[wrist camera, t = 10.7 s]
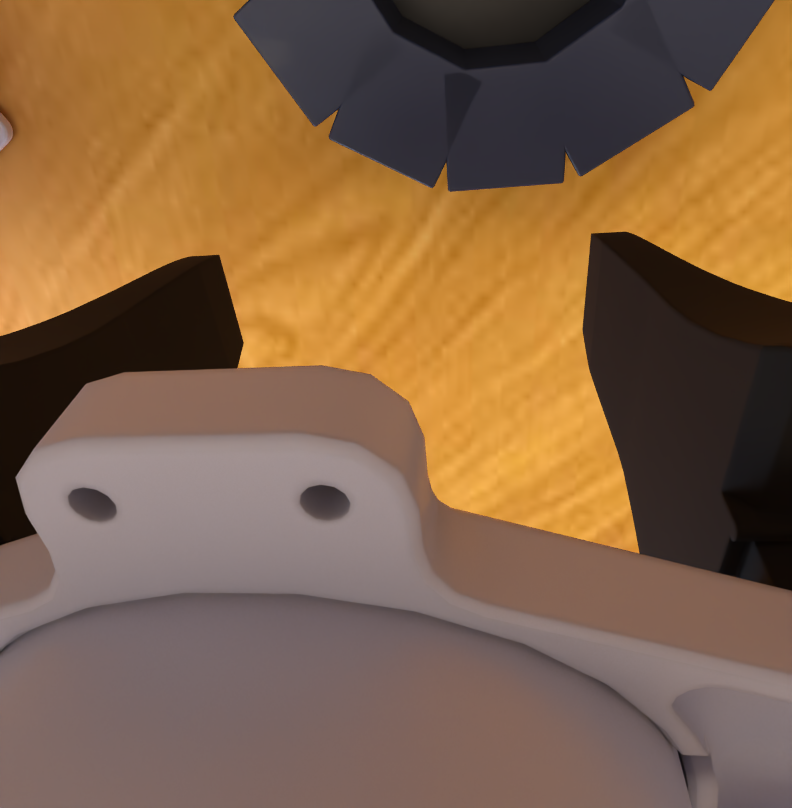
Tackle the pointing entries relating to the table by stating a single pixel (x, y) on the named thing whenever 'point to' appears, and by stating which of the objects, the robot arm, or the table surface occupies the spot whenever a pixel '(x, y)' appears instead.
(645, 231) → the table surface
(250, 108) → the table surface
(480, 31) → the peg stand
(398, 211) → the table surface
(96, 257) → the table surface
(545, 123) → the hoop
